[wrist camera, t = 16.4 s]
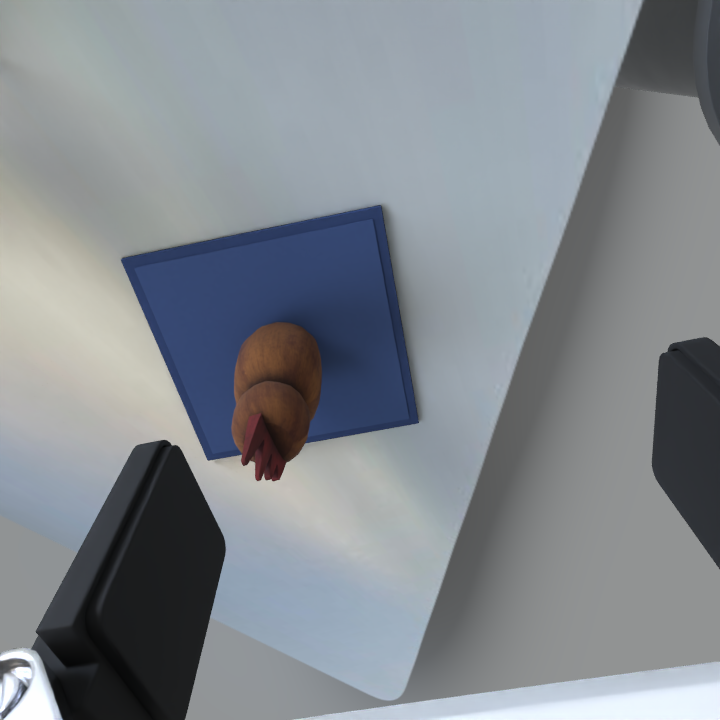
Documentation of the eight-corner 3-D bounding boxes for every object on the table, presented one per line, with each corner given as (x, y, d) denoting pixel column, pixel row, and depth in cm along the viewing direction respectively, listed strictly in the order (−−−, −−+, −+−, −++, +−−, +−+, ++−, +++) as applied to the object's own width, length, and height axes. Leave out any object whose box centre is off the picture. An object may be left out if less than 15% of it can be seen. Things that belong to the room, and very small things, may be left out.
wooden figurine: (243, 306, 39) (194, 435, 26) (323, 308, 39) (316, 438, 26) (247, 386, 42) (207, 537, 29) (322, 388, 42) (315, 538, 29)
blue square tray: (380, 204, 36) (381, 206, 36) (418, 420, 45) (419, 424, 44) (122, 257, 37) (120, 260, 37) (208, 457, 46) (207, 461, 46)
